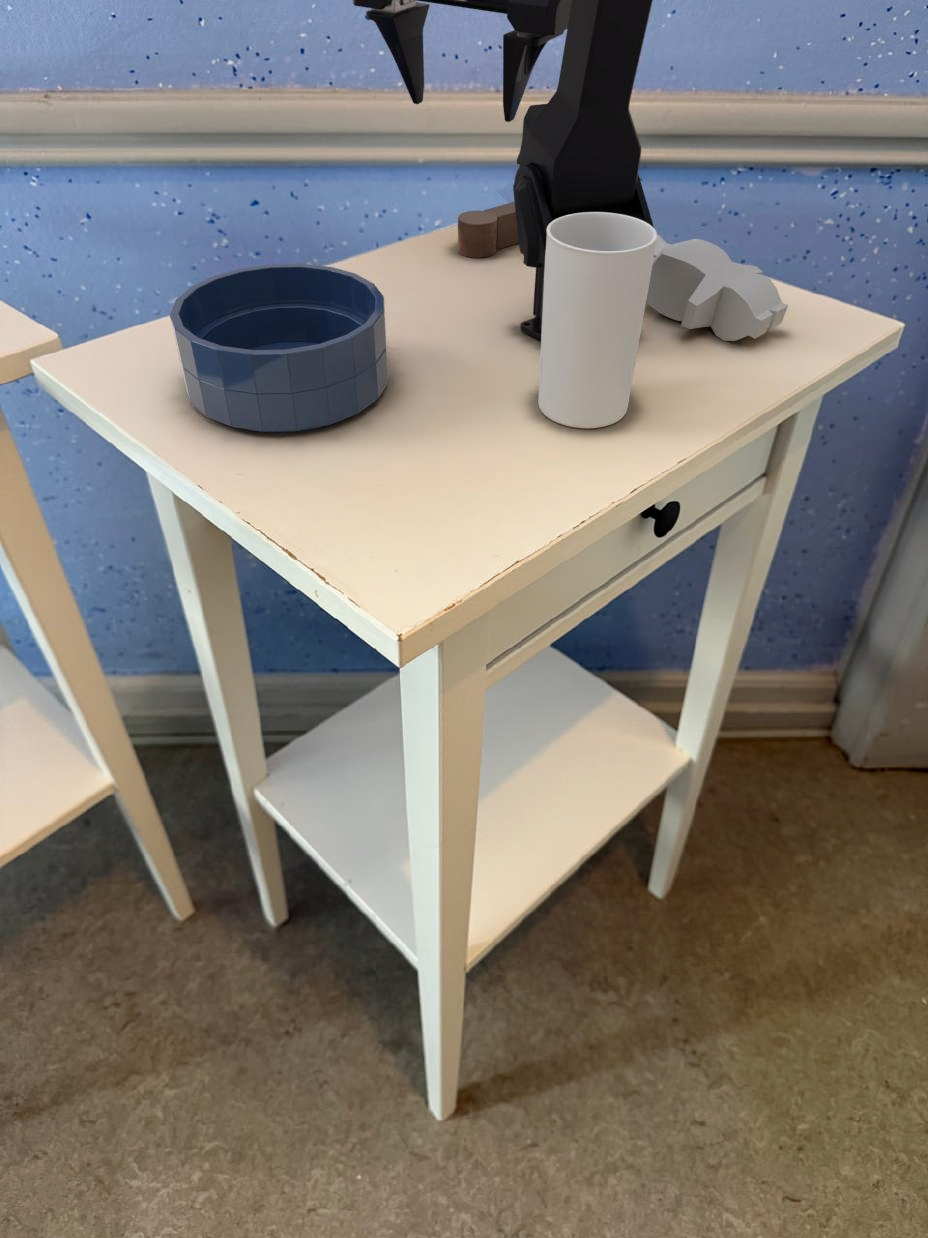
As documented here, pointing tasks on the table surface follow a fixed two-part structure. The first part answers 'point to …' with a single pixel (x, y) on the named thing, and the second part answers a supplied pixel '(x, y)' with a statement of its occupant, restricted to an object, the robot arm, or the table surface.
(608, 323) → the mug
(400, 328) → the table surface
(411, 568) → the table surface
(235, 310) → the bowl
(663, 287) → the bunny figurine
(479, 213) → the brown round-ended block
